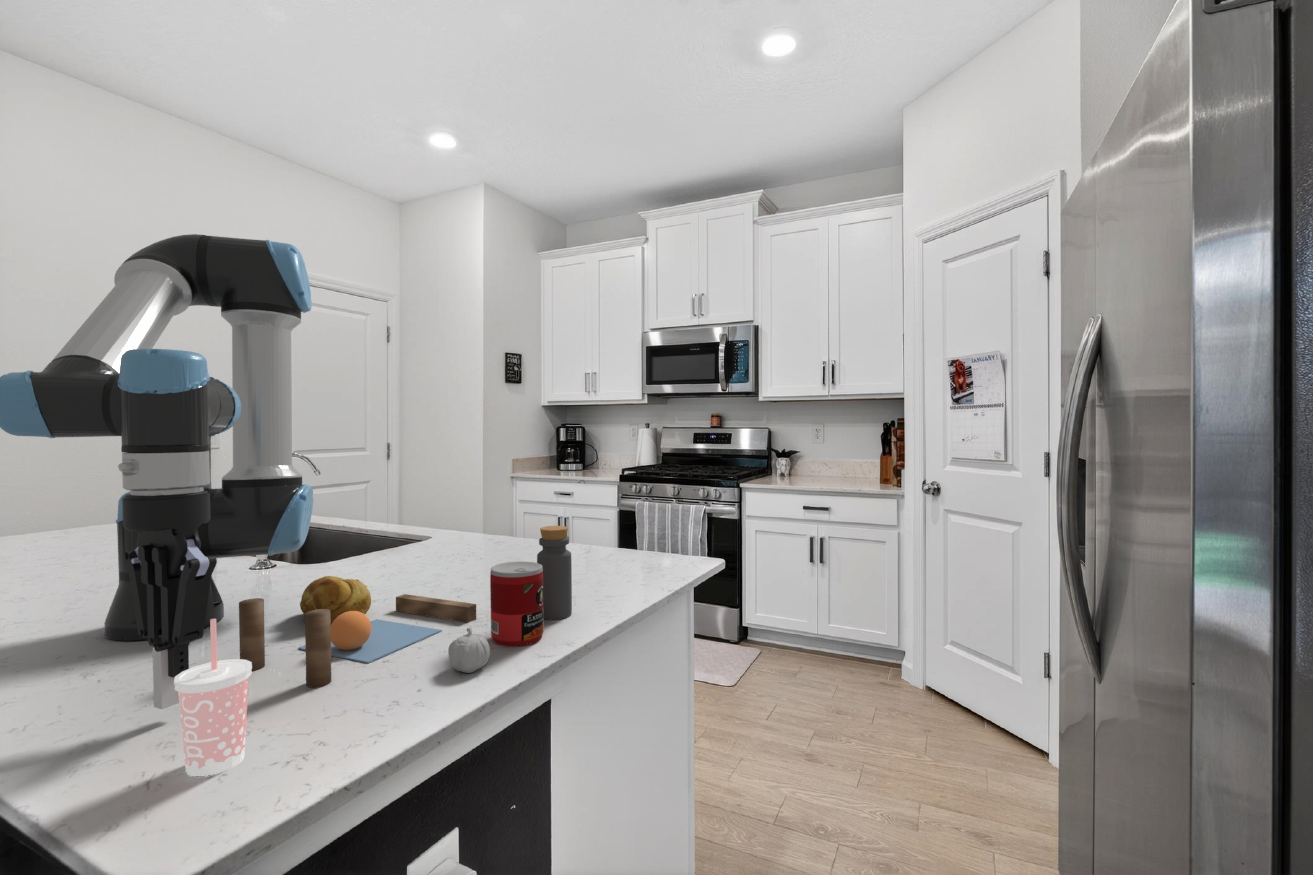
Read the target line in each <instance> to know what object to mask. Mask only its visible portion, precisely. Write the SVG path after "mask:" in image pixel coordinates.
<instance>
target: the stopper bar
mask: <svg viewBox="0 0 1313 875" xmlns="http://www.w3.org/2000/svg"><path fill="white" fill-rule="evenodd" d="M395 612H399V613H406V614H412V615H419V616H425V617H430V618H431V617H432V618H437V619H438V618H439V619H443V620H449V621H450V620H451V621H457V622H463V623H470V622H473V621H475V620H477V604H476V603H471V602H466V601H464V602H463V601H458V600H456V601H455V600H449V599H441V598H435V597H434V598H433V597H428V596H421V595H414V594H406V593H404V594H401V595H397V596H396V597H395Z"/></svg>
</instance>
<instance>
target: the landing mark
mask: <svg viewBox="0 0 1313 875" xmlns="http://www.w3.org/2000/svg"><path fill="white" fill-rule="evenodd" d="M370 622H371V634H370V636H369V638H368V640H367V641H366V642H365V643H364V644H363V645H362V646H361V647H359V648H357V649H354V650H341V649H339V648H337V647H335V646H334V645H333V643H332V642H331V657H336V658H340V659H345V660H350V661H356V662H360V663H365V664H370V663H372V662H374V661H378V660H379V659H382V658H384V657H386V656H388V655H391V654H393V653H395V652H397V651H400V650H402V649H405V648H407V647H409V646H411V645H414V644H416V643H419V642H420V641H423V640H425V639H427V638H429V637H432V636H434V635H436V634H439V633H441V632H442V631H443V630H442V629H438V628H433V627H426V626H420V625H414V624H408V623H402V622H397V621H390V620H383V619H376V618H375V619H374V620H370ZM298 650H300V651H305V652H306V646H305V645H301V646H299V647H298Z"/></svg>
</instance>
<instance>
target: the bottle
mask: <svg viewBox="0 0 1313 875" xmlns="http://www.w3.org/2000/svg"><path fill="white" fill-rule="evenodd" d="M568 529H569V527H567V526H564V525H547V526H542V527H540V529H539V530H540V536H541V537H540V538H539V539H538V544H539V545H540V546H541V547H542V549H541V551H538V553H537V554H536V563H538V564H541V565H542V568H543V620H547V621H548V620H549V621H551V620H562V619H566V618H568V617H570V616H571V615H572V613H573V612H572V611H573V608H572V607H573V599H572V598H573V596H572V594H573V592H572V591H573V590H572V588H573V586H572V583H573V581H572V552H571V551H569V550H568V549H567V545H569V543H570V538H569V536H567V535H568Z"/></svg>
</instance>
